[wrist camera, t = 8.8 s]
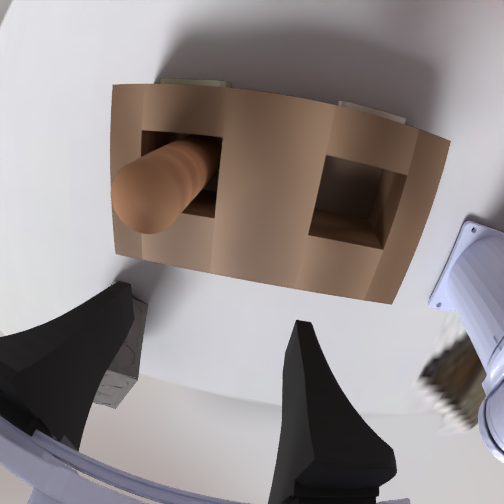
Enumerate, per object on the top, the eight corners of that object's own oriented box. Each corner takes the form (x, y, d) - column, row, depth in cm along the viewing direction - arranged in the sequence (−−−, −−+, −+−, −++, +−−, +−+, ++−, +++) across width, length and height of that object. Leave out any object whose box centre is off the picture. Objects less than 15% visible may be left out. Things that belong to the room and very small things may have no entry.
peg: (227, 136, 17) (183, 167, 10) (220, 182, 19) (176, 241, 12) (180, 128, 17) (111, 156, 10) (175, 174, 19) (111, 226, 12)
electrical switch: (116, 274, 25) (70, 355, 17) (166, 303, 26) (136, 390, 19) (93, 328, 29) (60, 397, 22) (134, 351, 31) (109, 422, 23)
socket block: (416, 123, 16) (452, 135, 12) (375, 261, 21) (391, 304, 17) (153, 79, 17) (113, 79, 12) (147, 220, 22) (115, 253, 18)
